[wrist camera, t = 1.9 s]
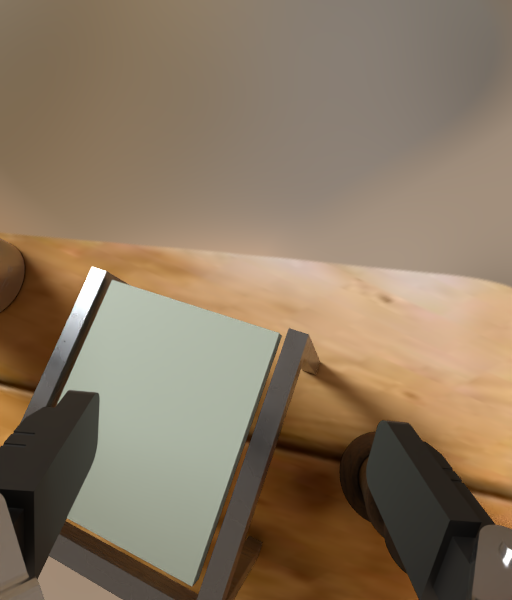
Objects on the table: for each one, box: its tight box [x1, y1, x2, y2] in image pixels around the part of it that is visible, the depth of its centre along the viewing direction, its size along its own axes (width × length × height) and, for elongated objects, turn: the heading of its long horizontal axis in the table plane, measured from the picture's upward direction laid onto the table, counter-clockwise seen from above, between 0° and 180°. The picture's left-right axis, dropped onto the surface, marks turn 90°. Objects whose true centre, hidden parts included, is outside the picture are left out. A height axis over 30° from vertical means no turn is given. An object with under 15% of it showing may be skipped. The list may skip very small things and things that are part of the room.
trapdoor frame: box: [21, 267, 320, 600], centre depth 29 cm, size 15×16×13 cm
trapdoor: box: [57, 280, 282, 586], centre depth 24 cm, size 12×14×1 cm
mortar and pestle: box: [340, 432, 407, 573], centre depth 23 cm, size 7×6×18 cm
